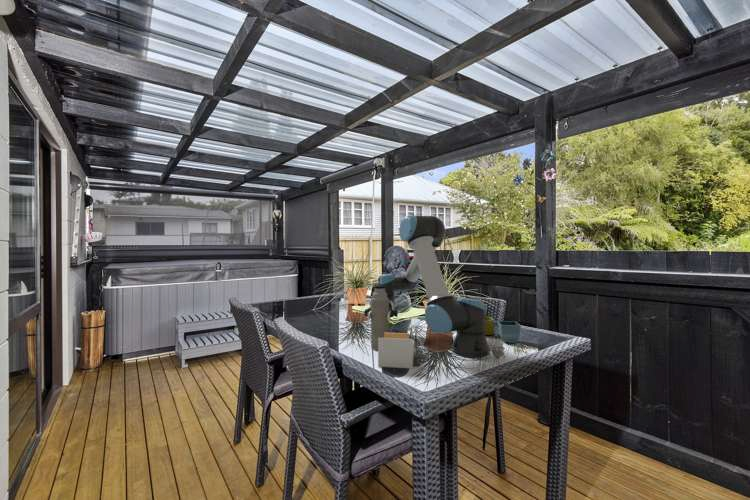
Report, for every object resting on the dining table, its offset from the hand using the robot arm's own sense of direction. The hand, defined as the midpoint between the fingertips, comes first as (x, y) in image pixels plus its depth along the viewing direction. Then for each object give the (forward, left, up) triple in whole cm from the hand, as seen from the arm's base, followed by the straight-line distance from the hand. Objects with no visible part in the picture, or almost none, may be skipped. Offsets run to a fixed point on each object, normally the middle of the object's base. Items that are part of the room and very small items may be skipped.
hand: (378, 317), depth 154 cm
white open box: (-13, +6, -15) cm, 20 cm away
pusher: (-14, +8, -14) cm, 21 cm away
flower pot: (-44, -45, -15) cm, 65 cm away
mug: (-29, -52, -15) cm, 62 cm away
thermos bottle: (+2, -4, -15) cm, 16 cm away
